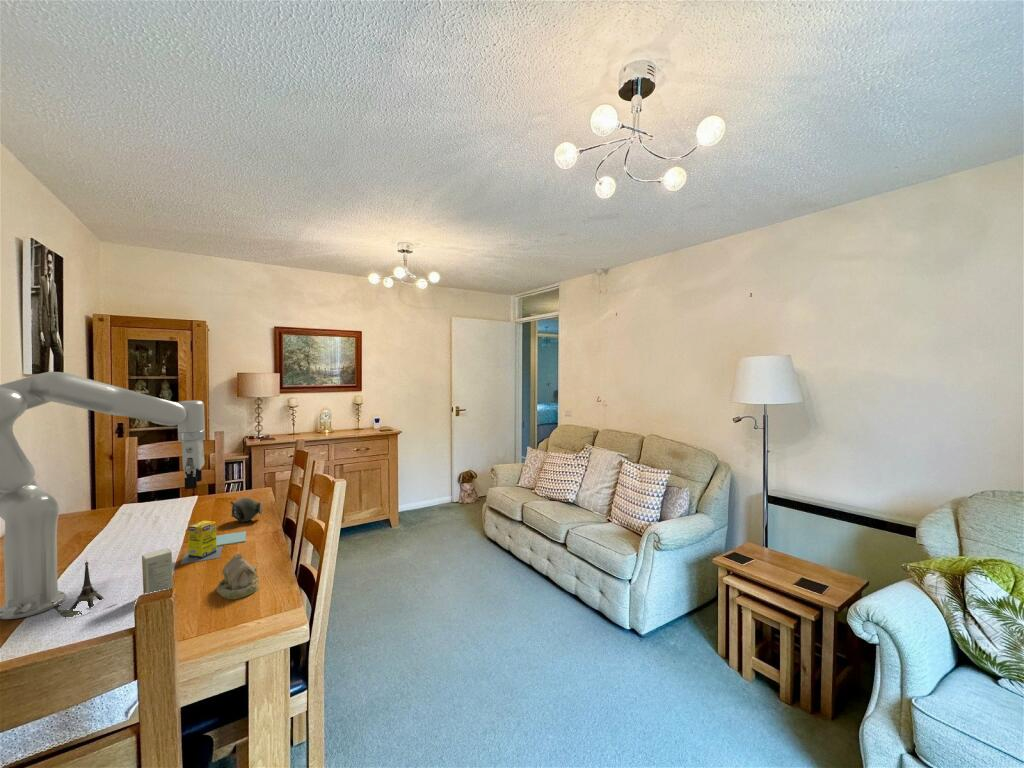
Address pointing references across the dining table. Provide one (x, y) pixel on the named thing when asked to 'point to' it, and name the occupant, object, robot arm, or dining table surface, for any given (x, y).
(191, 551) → the supplement box
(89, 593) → the eiffel tower figurine
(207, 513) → the dining table surface
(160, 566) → the skincare box
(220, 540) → the rubber mat
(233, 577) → the ceramic model
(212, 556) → the card
